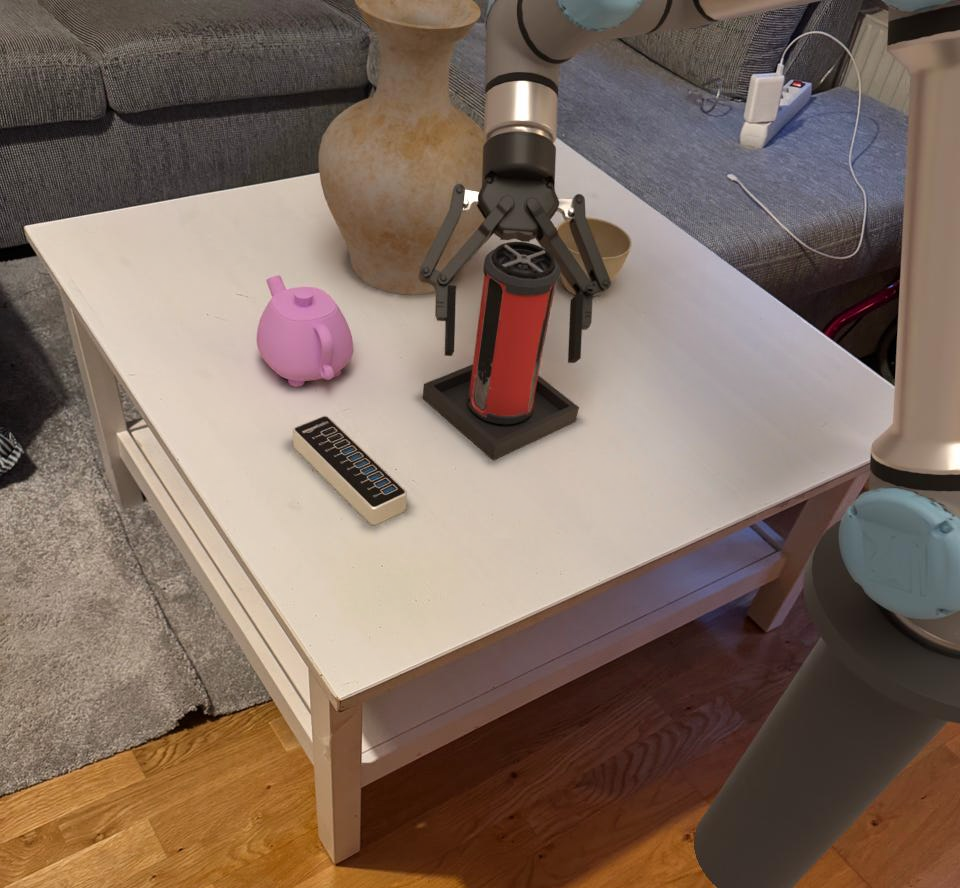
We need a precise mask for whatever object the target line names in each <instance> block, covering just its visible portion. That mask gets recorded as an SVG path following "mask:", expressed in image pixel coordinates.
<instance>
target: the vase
mask: <svg viewBox="0 0 960 888" xmlns="http://www.w3.org/2000/svg"><path fill="white" fill-rule="evenodd" d="M354 2H355V5H356V7H357V10H358V11H359V13H360V15H361V18H362V20H363V21H364V23H365V24H366V25H367V26H368V27H370V29H372V30H373V31H374V32H375V34H376V37H377V42H378V50H379V70H378V71H379V72H378V80H377V84H376V89H375V92H374V94H373V96H370V97H367V98H364V99H363V100H360V101H358V102H355V103H354V104H351V106H349V107H348V108H346V109H344V110H343V111H342V112H341V113H340V114H338V115H337V116H336V117H335V118H334V119H333V120H332V121H331V122H330V124H329V125H328V127H327V128H326V130H325V132H324V133H323V134H322V137H321V141H320V144H319V150H318V154H317V155H318V172H319V179H320V185H321V189H322V193H323V196H324V199H325V201H326V204H327V206H328V210H329V212H330V214H331V216H332V217H333V220H334V222H335V224H336V226H337V228H338V230H339V232H340V234H341V237H342V238H343V241H344V243H345V244H346V248H347V249H348V252H349V258H350V264H351V268H352V271H353V272H354V274H355V275H356V276H357V278H359V279H360V280H361V281H362V282H364V283H365V284H367V285H368V286H371V287H373V288H376V289H378V290H381V291H384V292H387V293H392V294H396V295H406V296H414V295H416V296H417V295H427V294H430V293H434V292H435V293H436V290H435V288H434V287H433V286H432V285H430V284H428V283H423V282H421V281H420V280H419V272H420V268H421V266H422V264H423V262H424V260H425V258H426V256H427V254H428V252H429V250H430V248H431V246H432V244H433V242H434V240H435V238H436V236H437V234H438V232H439V230H440V228H441V226H442V224H443V222H444V220H445V218H446V216H447V214H448V212H449V210H450V202H451V196H452V192H453V189H454V186H455V185H457V184H462V185H463V186H464V188H465V189H466V190H472V191H477V192H479V191H480V190H481V187H482V166H483V146H484V144H485V143H486V141H485V139H484V130H483V129H482V128H481V127H480V126H479V124H478V123H477V122H475V120H473V118H471V117H469V115H468V114H466V113H464V112H463V111H461V110H460V109H459V108H457V107H456V106H454V105H452V101H451V96H450V66H451V59H452V56H453V52H454V49H455V46H456V44H457V42H459V41H460V40H462V39H464V38H465V37H467V36H468V35H469V34H470V33H471V31H472V29H473V28H474V26H475V25H476V23H477V22H478V20H479V19H480V17H481V13H482V10H481V8H480V6H479V5H478V4H477V2H475V1H474V0H354ZM484 220H485V218H484V217H483V215H482V214H481V212H480V210H479V209H478V207H477V205H472V206H471V207H470V209H469V211H468V212H467V213H461V215H460V219H459V221H458V224H457V226H456V228H455V230H454V232H453V234H452V236H451V238H450V240H449V242H448V244H447V246H446V248H445V250H444V252H443V254H442V256H441V258H440V260H439V262H438V264H437V266H436V268H435V270H437V271H439V272H441V271H442V270H443V269H444V268H445V266H446V265H447V264H448V263H449V262H450V261H451V259H452V258H453V257H454V256H455V255H456V254H457V252H458V251H459V250H460V249H461V248H462V247H463V245H464V244H465V243H466V242H467V241H468V240H469V238H470V237H471V236H472V235H473V234H474V233H475V231H476V230H477V229H478V228H479V226H480V225H481V224H482V222H483V221H484Z"/></svg>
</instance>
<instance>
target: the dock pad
mask: <svg viewBox="0 0 960 888" xmlns="http://www.w3.org/2000/svg"><path fill="white" fill-rule="evenodd" d="M472 368H473V363H472V364H470V365H466V366H464V367H462V368H460V369H457V370H455V371H452V372H450V373H448V374H445V375H442V376H440V377H437V378H435V379H432V380H430V381H428V382H424V383H423V388H422V399H423V400H424V401H425V402H426V403H427V404H428V405H429V406H431V408H432V409H434V410H435V411H436V412H437V413H439V415H441V416H442V417H443V418H444V419H445V420H446V421H448V423H450V424H451V425H452V426H453V427H454V428H456V429H457V430H458V431H459V432H460V433H462V435H463V436H464V437H466V438H467V439H468V440H469V441H471V443H473V444H474V445H475V446H476V447H478V449H480V450H481V451H482V452H483V453H484V454H485V455H486V456H488V457H489V458H490V459H491V460H492V461H495V460H498V459H499V458H501V457H505V456H507V455H508V454H510V453H512V452H514V451H517V450H519V449H520V448H523V447H525V446H527V445H529V444H531V443H533V442H535V441H537V440H539V439H542V438H544V437H546V436H549V435H551V434H552V433H555V432H557V431H558V430H561V429H563V428H565V427H568V426H570V425H571V424H574V423H576V422H577V417H578V414H579V409H580V406H578V405H577V404H576V403H575V402H573V401H572V400H571V399H570V398H568V397H567V396H566V395H565V394H563V393H561V392H560V391H559V390H558V389H557V388H555V387H554V386H553V385H551V384H550V383H549V382H547V380H545V379H544V378H543V377H541V375H539V374H538V380H537V385H536V390H535V395H534V396H535V401H534V410H533V412H532V414H531V415H530V416H529V417H528V418H527V419H525V420H524V421H521V422H518V423H515V424H510V425H501V424H496V423H492V422H489V421H488V422H487V421H485V420H483V419H482V418H480V417H479V416H477V415H476V414H475V413H474V412H473V411H472V410H471V409H470V408H469V406H468V403H467V394H468V389H469V387H470V384H471V376H472Z"/></svg>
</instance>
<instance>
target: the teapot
mask: <svg viewBox="0 0 960 888" xmlns="http://www.w3.org/2000/svg"><path fill="white" fill-rule="evenodd" d="M265 282H266V284H267V287H268V290H269V293H270V295H271V298H270V300H269V301H268V302H267V304H266V306H265V308H264V310H263V311H262V313H261V315H260V318H259V322H258V325H257V330H256V347H257V351H258V352H259V355H260V356H261V358H262V359H263V361H264V362H265V363H266V364H267V365H268V366H269V367H270V369H272V370H273V371H274V372H275V373H276V374H277V375H279V377H282V378H284V379H287V383H288V384H289V385H290V386H292V387H302V386H304V384H305V383H306V382H307V381H317V380H322V379H323V380H326V381H329V380H332V379H333V378H336V377H339V376H341V374H342V371H341V370H342V369H344V368H345V367H346V366H347V364H348V363H349V362H350V361H351V360H352V358H353V355H354V339H353V336H352V331H351V329H350V326H349V324H348V321H347V320H346V319H347V318H346V317H345V316H344V313H342V310H341V309H340V307H339V306H338V304H337V302H336V301H335V299H333V297H332V296H331V295H330V294H329V293H328V292H326V291H325V290H323V289H321V288H318V287H315V286H296V287H291V288H286V286H285V283H284V280H283V278H282V276H281V275H280V274H279V275H274V276H271V277H269V278H267V279H266V280H265Z"/></svg>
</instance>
